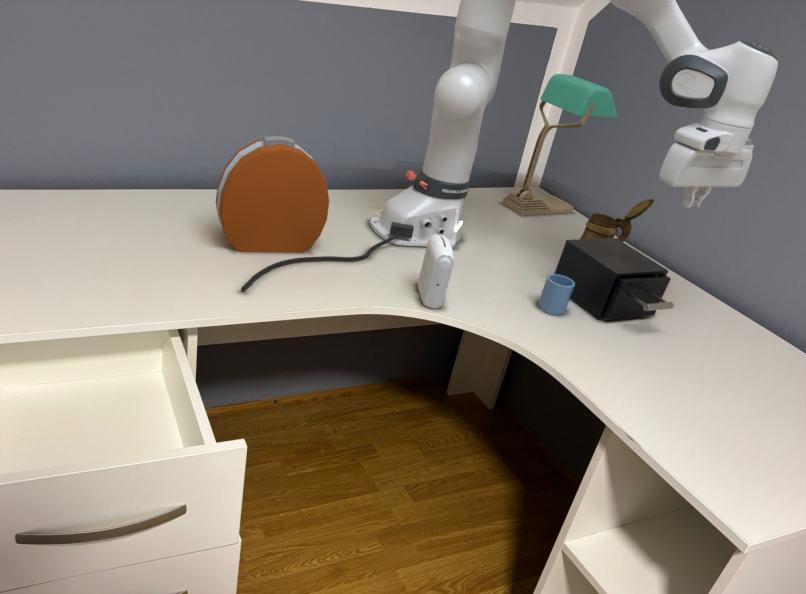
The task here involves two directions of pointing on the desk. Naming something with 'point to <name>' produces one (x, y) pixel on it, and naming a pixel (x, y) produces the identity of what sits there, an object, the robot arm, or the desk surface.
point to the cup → (556, 294)
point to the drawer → (637, 296)
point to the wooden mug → (613, 223)
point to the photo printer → (435, 271)
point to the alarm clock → (272, 197)
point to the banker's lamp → (573, 99)
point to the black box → (601, 270)
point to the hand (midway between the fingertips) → (689, 207)
